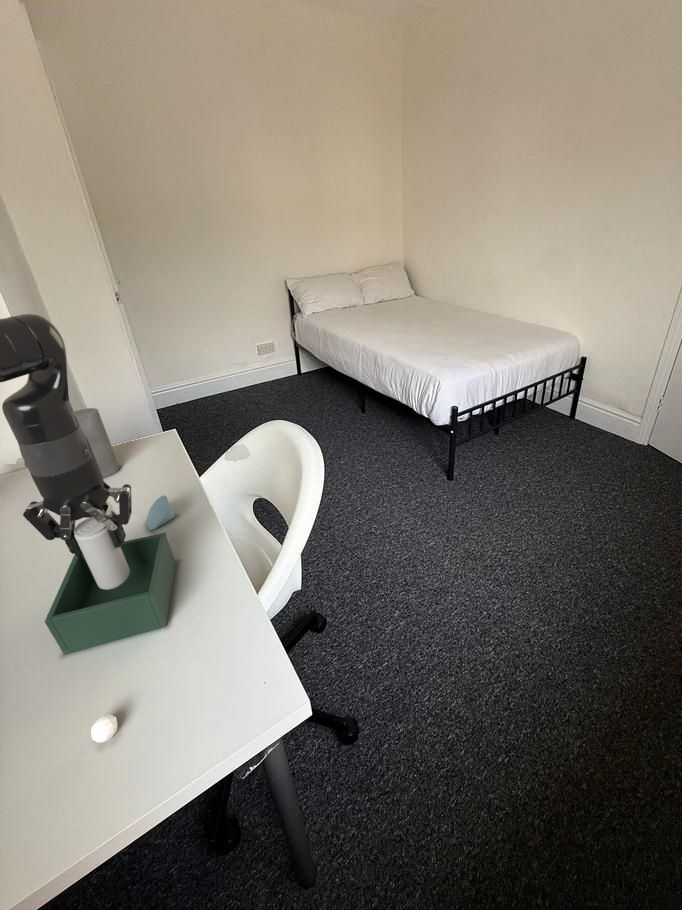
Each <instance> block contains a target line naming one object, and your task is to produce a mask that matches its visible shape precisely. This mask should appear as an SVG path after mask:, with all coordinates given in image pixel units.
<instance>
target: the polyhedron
mask: <svg viewBox="0 0 682 910" xmlns="http://www.w3.org/2000/svg"><path fill="white" fill-rule="evenodd" d="M117 719H118V718H117V717H116V716H114V715H112V714H104V715H103V716H101V717H98V719H96V721H95V722H94V723H93V724H92V726H91V730H90V734H91V735H90V736H91V740H92V741H94V742H96V743H97V744H98V743H99V744H100V743H105V742H107V741H108V740H111V739H112V737H113V736H114V735H115V734H116V732H117V731H118V720H117Z"/></svg>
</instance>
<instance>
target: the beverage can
mask: <svg viewBox="0 0 682 910" xmlns="http://www.w3.org/2000/svg"><path fill="white" fill-rule="evenodd" d="M74 533H75V538H76V540H77V543H78V545H79V547H80V549H81V551H82V553H83V555H84V557H85V559H86V562H87V564H88V566H89V568H90V570H91V572H92V574H93V576H94V578H95V581H96V583H97V585H98V587H99V588H101V589H105V590H110V589H114V588H117V587H119V586H121V585H122V584H123V583H125V582H126V580H127V579H128V577H129V574H130V569H129V566H128V564H127V562H126V559H125V557H124V554H123V552H122V550H121V547H118V548H115V546H114V543H113V541H112V539H111V536H110V534H109V529H108V528H107V527H106V526H105V525H104V524H103V523H99V522H97V521H96V520H95V519H94V518H93V517H90V518H86V519H84V520H82V521H80V522H79V523H78V524H77V525H75V529H74Z"/></svg>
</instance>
